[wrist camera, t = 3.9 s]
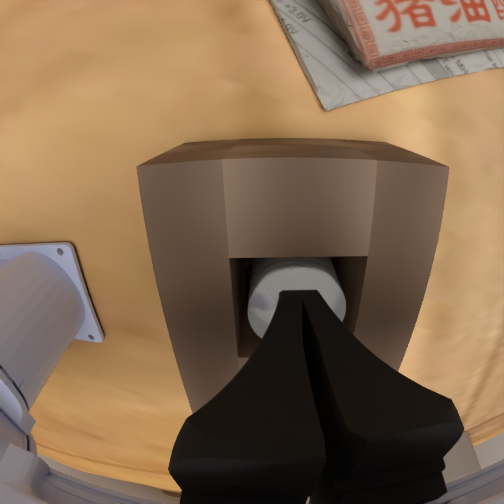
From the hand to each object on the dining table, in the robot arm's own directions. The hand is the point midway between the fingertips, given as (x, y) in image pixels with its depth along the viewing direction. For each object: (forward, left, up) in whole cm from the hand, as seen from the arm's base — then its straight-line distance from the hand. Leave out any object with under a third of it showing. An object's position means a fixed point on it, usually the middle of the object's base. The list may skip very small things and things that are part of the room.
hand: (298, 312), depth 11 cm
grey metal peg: (0, 0, -6) cm, 6 cm away
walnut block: (0, -6, -6) cm, 8 cm away
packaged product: (+8, +15, -7) cm, 18 cm away
